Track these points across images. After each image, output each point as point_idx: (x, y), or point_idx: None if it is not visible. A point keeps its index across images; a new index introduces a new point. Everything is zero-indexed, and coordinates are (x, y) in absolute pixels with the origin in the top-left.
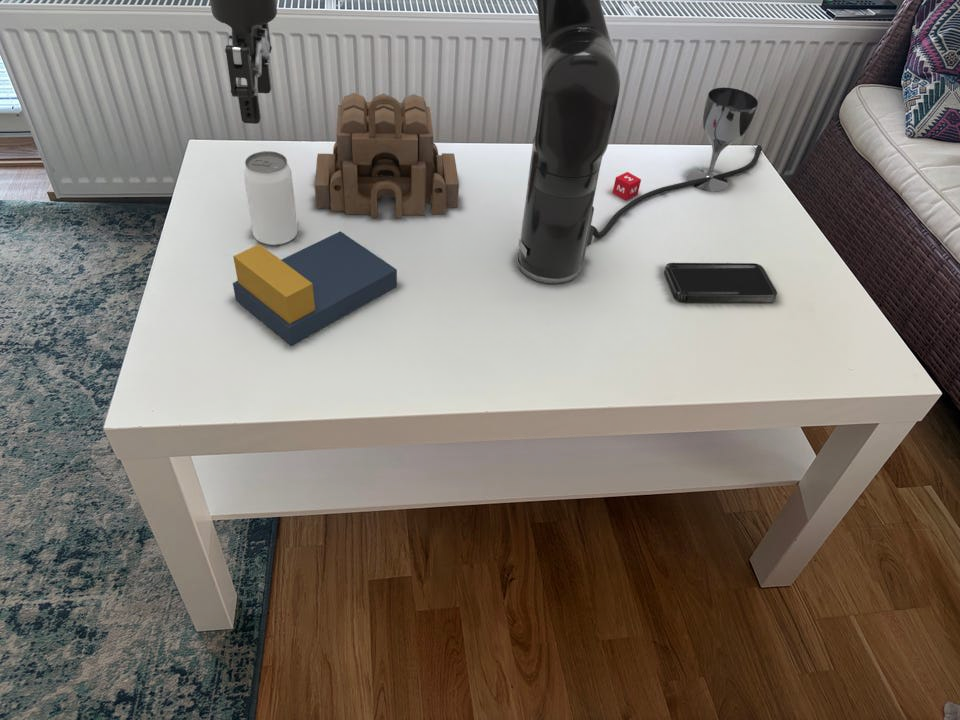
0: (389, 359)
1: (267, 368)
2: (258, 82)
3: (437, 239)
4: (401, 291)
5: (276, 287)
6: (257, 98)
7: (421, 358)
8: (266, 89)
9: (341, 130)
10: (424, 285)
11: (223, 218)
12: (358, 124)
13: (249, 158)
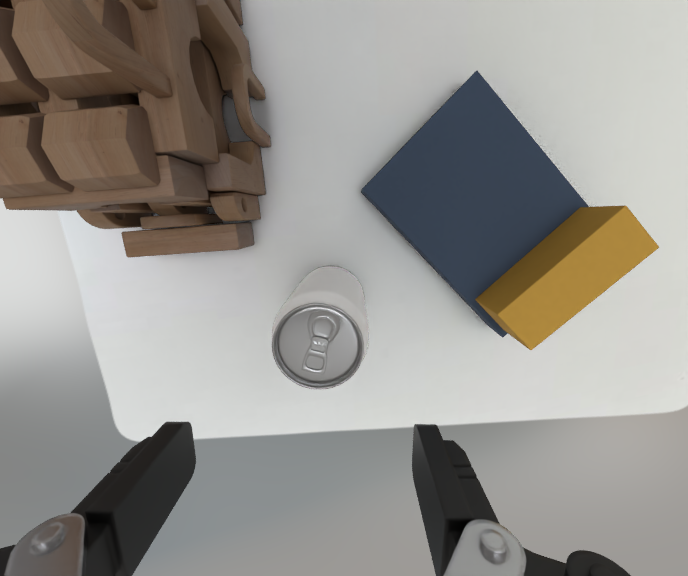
0: (639, 88)
1: None
2: (171, 483)
3: (323, 11)
4: None
5: (629, 267)
6: (452, 498)
7: (645, 32)
8: (183, 438)
9: (154, 182)
10: (460, 33)
11: None
12: (132, 124)
13: (303, 382)
